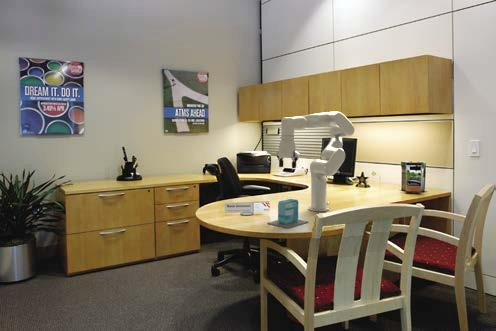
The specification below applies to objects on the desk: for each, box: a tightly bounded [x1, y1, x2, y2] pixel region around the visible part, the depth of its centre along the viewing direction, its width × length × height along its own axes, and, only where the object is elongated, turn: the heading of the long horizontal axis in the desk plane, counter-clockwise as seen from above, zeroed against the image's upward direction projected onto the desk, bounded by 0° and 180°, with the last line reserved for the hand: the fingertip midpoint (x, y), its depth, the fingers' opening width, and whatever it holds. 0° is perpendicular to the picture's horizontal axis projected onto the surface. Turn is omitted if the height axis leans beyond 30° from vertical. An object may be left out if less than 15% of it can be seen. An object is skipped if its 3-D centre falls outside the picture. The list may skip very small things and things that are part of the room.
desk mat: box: [267, 218, 309, 229], centre depth 214 cm, size 18×14×1 cm
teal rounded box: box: [277, 198, 299, 224], centre depth 214 cm, size 12×4×12 cm, turn 134°
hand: (287, 167), depth 232 cm, fingers open, 9 cm apart
